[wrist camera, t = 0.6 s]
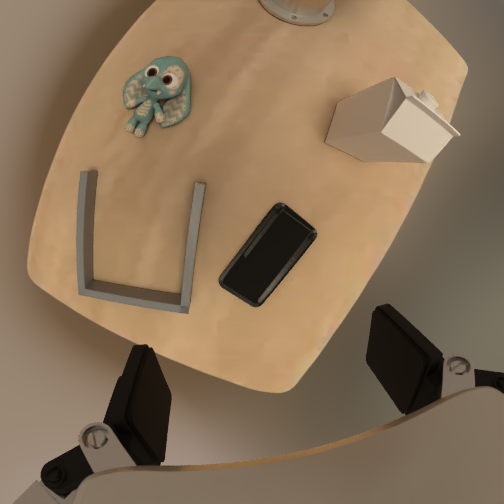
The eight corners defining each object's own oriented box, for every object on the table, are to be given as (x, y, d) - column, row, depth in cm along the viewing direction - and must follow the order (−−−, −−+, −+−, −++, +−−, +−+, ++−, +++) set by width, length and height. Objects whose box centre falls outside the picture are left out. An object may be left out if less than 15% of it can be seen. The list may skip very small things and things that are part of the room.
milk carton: (363, 161, 38) (454, 166, 20) (323, 142, 36) (405, 129, 18) (375, 122, 36) (464, 107, 18) (337, 101, 34) (418, 66, 16)
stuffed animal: (89, 119, 26) (137, 36, 22) (113, 118, 33) (155, 49, 28) (154, 155, 29) (209, 69, 25) (170, 150, 36) (216, 79, 31)
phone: (320, 233, 39) (257, 309, 42) (317, 231, 40) (256, 306, 43) (279, 199, 37) (215, 283, 39) (277, 198, 38) (215, 280, 41)
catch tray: (91, 170, 33) (80, 171, 30) (206, 183, 36) (205, 184, 33) (87, 285, 38) (78, 294, 34) (190, 302, 41) (188, 314, 37)
